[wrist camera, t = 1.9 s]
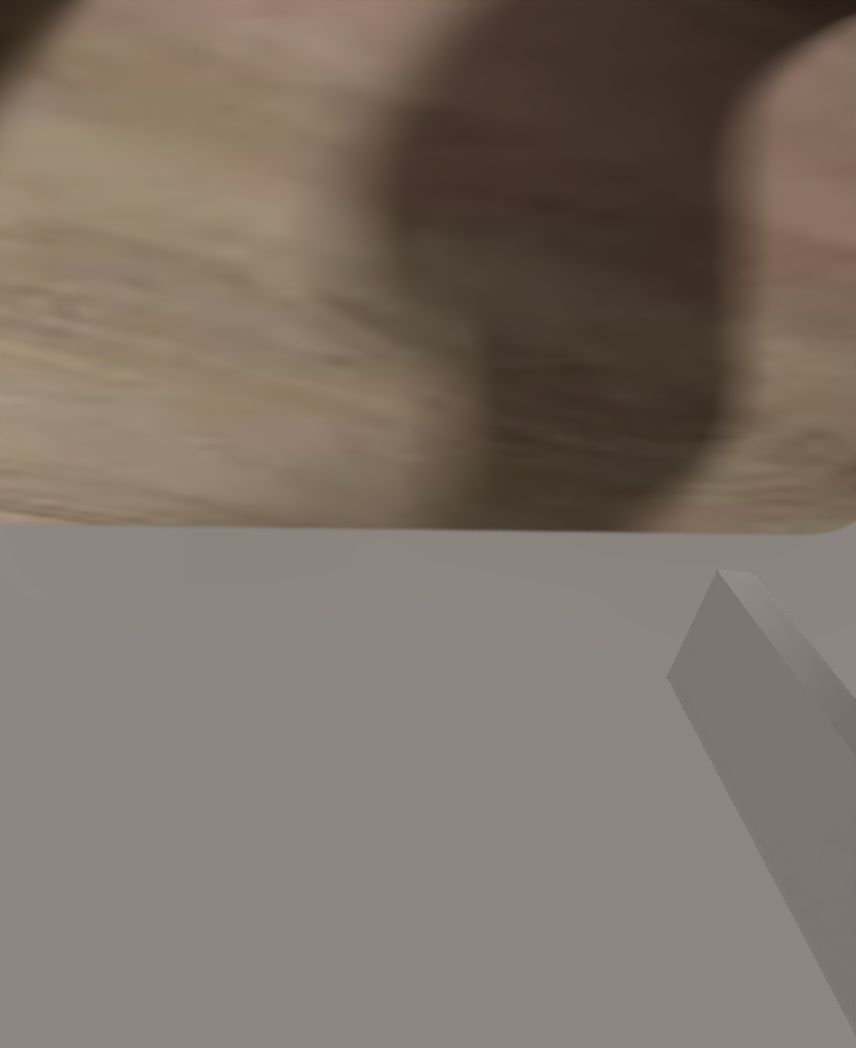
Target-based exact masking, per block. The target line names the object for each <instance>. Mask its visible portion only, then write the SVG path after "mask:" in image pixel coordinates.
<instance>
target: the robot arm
mask: <svg viewBox="0 0 856 1048" xmlns="http://www.w3.org/2000/svg"><path fill="white" fill-rule="evenodd" d="M667 678H668V680H669V682H670V684H671V686H672V688H673V690H674V691H675V693H676V695H677V697H678V699H679V701H680V703H681V705H682V707H683V709H684V710H685V712H686V714H687V716H688V718H689V720H690V722H691V724H692V725H693V728H694V730H695V731H696V733H697V735H698V737H699V739H700V741H701V743H702V745H703V747H704V748H705V750H706V752H707V754H708V756H709V758H710V760H711V762H712V764H713V766H714V767H715V769H716V771H717V773H718V775H719V777H720V779H721V781H722V783H723V784H724V786H725V788H726V790H727V792H728V794H729V796H730V798H731V800H732V802H733V803H734V805H735V807H736V809H737V811H738V813H739V815H740V817H741V819H742V820H743V822H744V824H745V826H746V828H747V830H748V832H749V834H750V836H751V837H752V839H753V841H754V843H755V845H756V847H757V849H758V851H759V853H760V855H761V857H762V858H763V860H764V862H765V864H766V866H767V868H768V869H769V872H770V874H771V875H772V877H773V879H774V881H775V883H776V885H777V887H778V889H779V891H780V893H781V894H782V896H783V898H784V900H785V902H786V904H787V906H788V908H789V909H790V911H791V913H792V915H793V917H794V919H795V921H796V923H797V924H798V927H799V929H800V930H801V932H802V934H803V936H804V938H805V940H806V942H807V944H808V946H809V948H810V949H811V951H812V953H813V955H814V957H815V959H816V961H817V962H818V965H819V966H820V968H821V970H822V972H823V974H824V976H825V978H826V980H827V981H828V984H829V985H830V987H831V989H832V991H833V993H834V995H835V997H836V999H837V1001H838V1002H839V1004H840V1006H841V1008H842V1010H843V1012H844V1014H845V1016H846V1018H847V1020H848V1022H849V1023H850V1025H851V1027H852V1029H853V1031H854V1033H855V1035H856V699H855V698H854V696H853V695H852V694H851V693H850V691H849V690H848V689H847V688H846V687H845V685H844V684H843V683H842V682H841V680H840V679H839V678H838V677H837V675H836V674H835V673H834V672H833V671H832V669H831V668H830V667H829V666H828V664H827V663H826V662H825V661H824V659H823V658H822V657H821V656H820V654H819V653H818V652H817V651H816V649H815V648H814V647H813V646H812V645H811V643H810V642H809V641H808V640H807V638H806V637H805V636H804V635H803V633H802V632H801V631H800V630H799V629H798V628H797V626H796V625H795V624H794V622H793V621H792V620H791V619H790V617H789V616H788V615H787V614H786V612H785V611H784V610H783V609H782V608H781V606H780V605H779V604H778V603H777V601H776V600H775V599H774V598H773V596H772V595H771V594H770V593H769V592H768V590H767V589H766V588H765V587H764V585H763V584H762V583H761V582H760V581H759V579H758V578H757V577H756V575H755V574H754V573H744V572H733V571H723V570H717V571H716V574H715V576H714V578H713V580H712V582H711V584H710V586H709V588H708V590H707V593H706V595H705V597H704V599H703V601H702V603H701V605H700V608H699V610H698V612H697V614H696V616H695V618H694V620H693V622H692V624H691V627H690V629H689V631H688V633H687V635H686V637H685V639H684V641H683V644H682V646H681V648H680V650H679V652H678V654H677V656H676V658H675V661H674V663H673V665H672V667H671V669H670V671H669V673H668V676H667Z"/></svg>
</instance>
